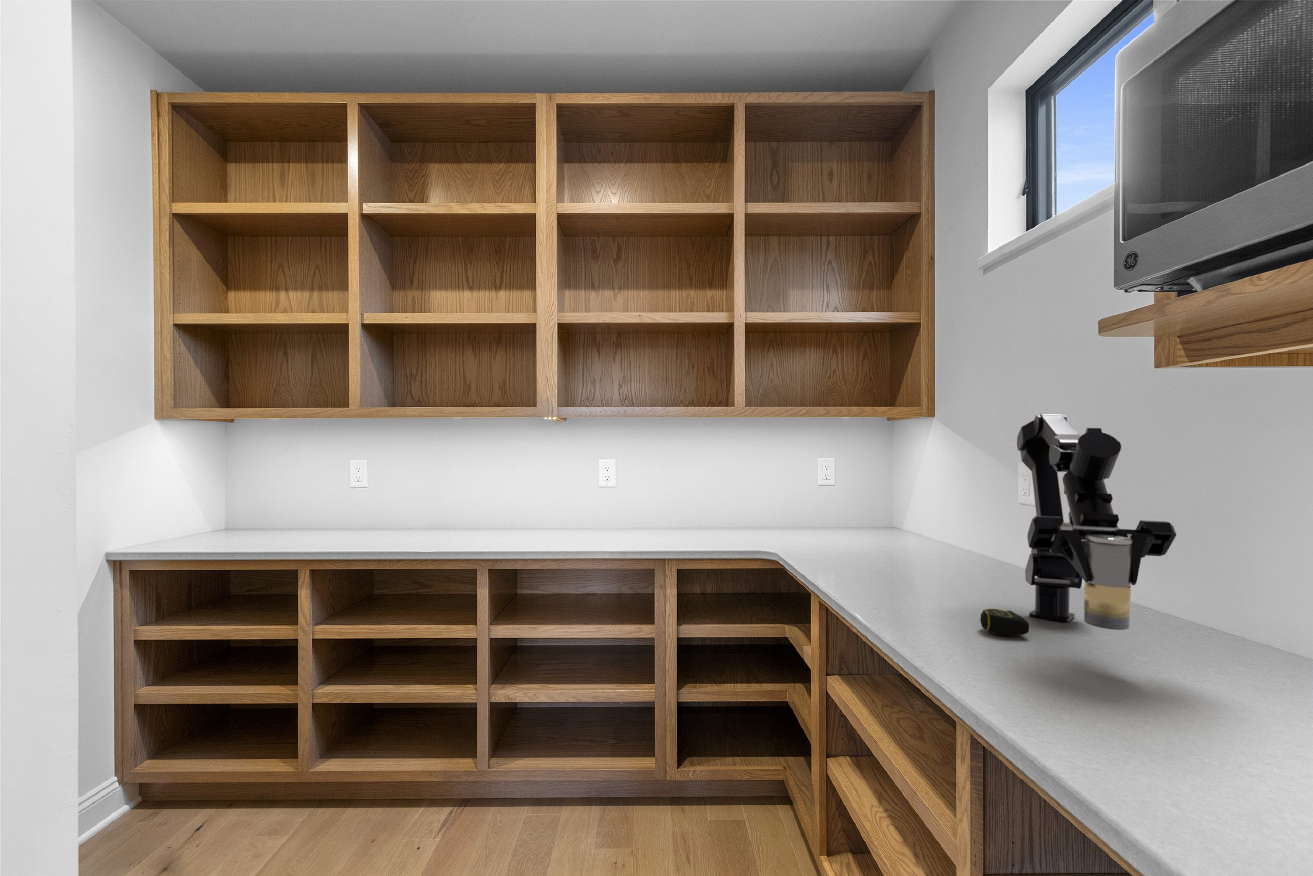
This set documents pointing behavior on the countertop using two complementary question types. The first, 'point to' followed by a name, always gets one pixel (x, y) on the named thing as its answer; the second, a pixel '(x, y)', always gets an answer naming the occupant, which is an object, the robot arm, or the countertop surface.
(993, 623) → the tape measure
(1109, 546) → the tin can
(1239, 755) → the countertop surface
